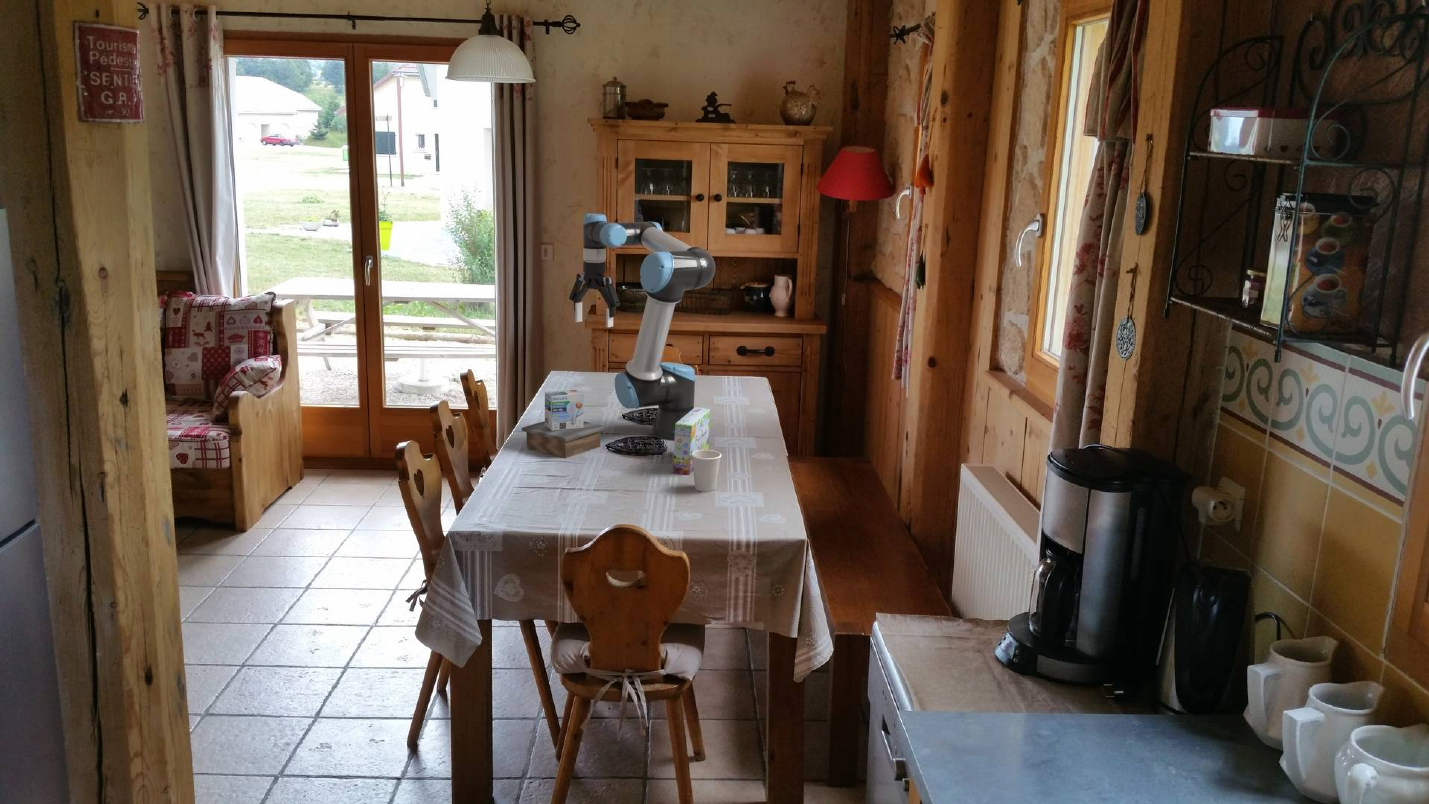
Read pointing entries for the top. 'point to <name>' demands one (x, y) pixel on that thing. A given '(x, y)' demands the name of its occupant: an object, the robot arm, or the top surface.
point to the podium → (563, 439)
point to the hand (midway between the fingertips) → (594, 324)
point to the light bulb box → (564, 410)
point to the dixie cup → (705, 469)
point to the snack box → (690, 438)
